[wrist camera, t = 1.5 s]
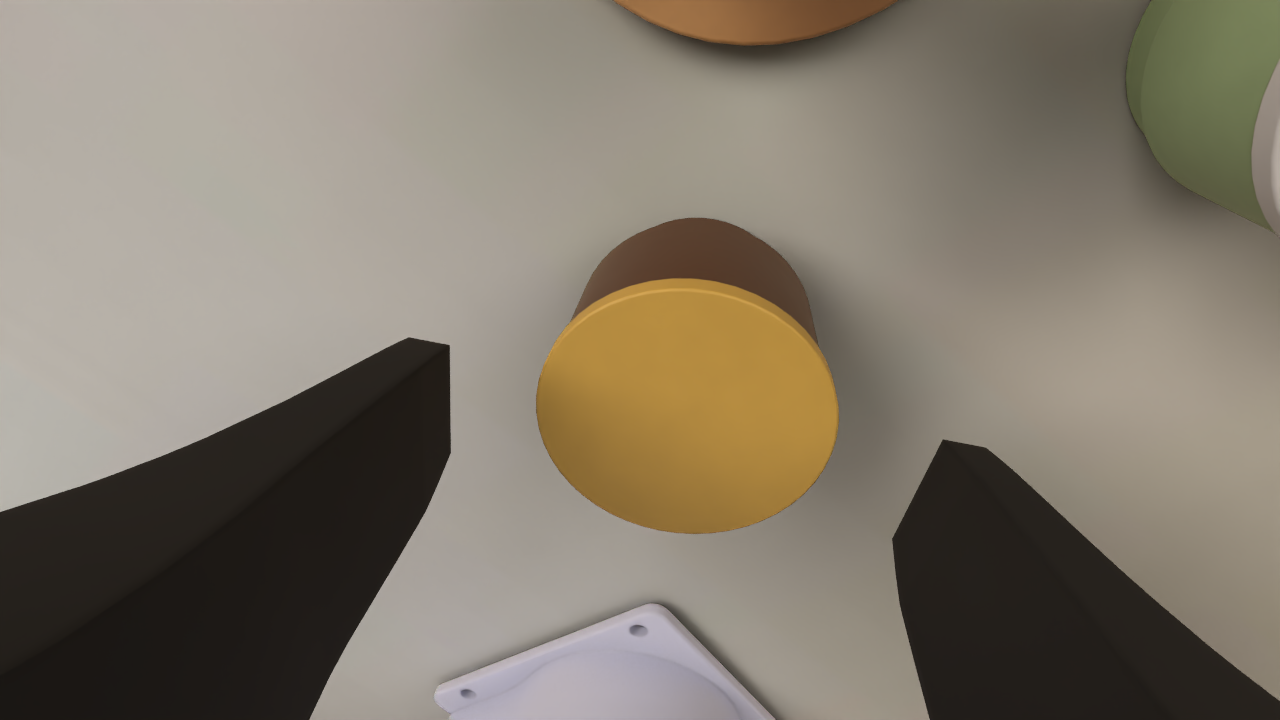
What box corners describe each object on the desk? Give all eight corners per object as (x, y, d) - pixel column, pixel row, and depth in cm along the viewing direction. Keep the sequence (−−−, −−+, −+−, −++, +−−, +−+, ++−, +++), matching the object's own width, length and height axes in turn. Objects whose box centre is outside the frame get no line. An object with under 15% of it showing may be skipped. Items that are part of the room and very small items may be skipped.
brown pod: (669, 426, 16) (649, 568, 12) (542, 274, 14) (474, 386, 10) (852, 332, 14) (895, 467, 10) (730, 144, 12) (729, 225, 8)
